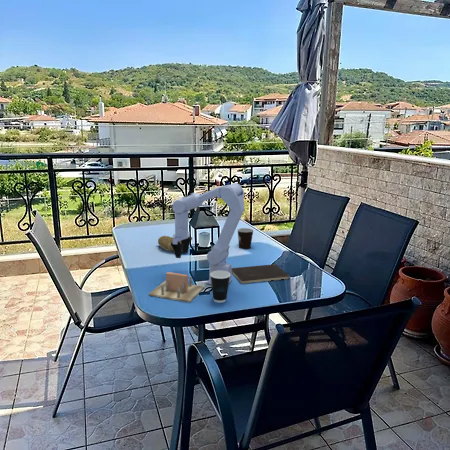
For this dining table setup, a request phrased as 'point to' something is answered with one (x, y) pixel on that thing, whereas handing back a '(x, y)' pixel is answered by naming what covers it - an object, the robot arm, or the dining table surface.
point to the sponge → (166, 242)
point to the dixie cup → (220, 285)
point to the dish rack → (177, 292)
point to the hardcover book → (259, 273)
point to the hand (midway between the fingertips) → (181, 255)
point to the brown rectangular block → (177, 281)
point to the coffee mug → (245, 238)
